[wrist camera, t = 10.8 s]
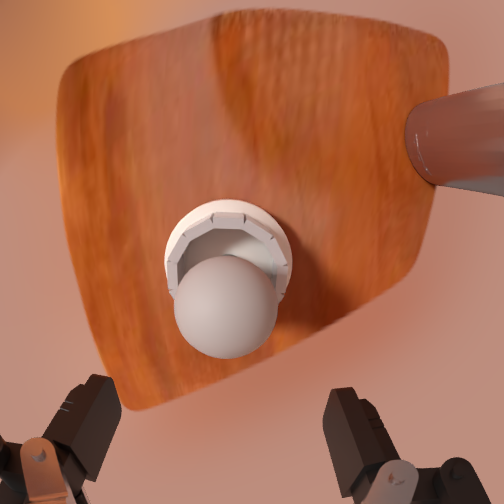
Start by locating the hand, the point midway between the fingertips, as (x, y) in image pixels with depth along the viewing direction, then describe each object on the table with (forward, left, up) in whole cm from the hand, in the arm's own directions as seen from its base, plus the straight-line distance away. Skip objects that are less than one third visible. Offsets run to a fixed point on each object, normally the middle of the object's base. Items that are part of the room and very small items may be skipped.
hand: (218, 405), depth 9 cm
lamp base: (0, 0, -18) cm, 18 cm away
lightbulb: (0, 0, -16) cm, 16 cm away
